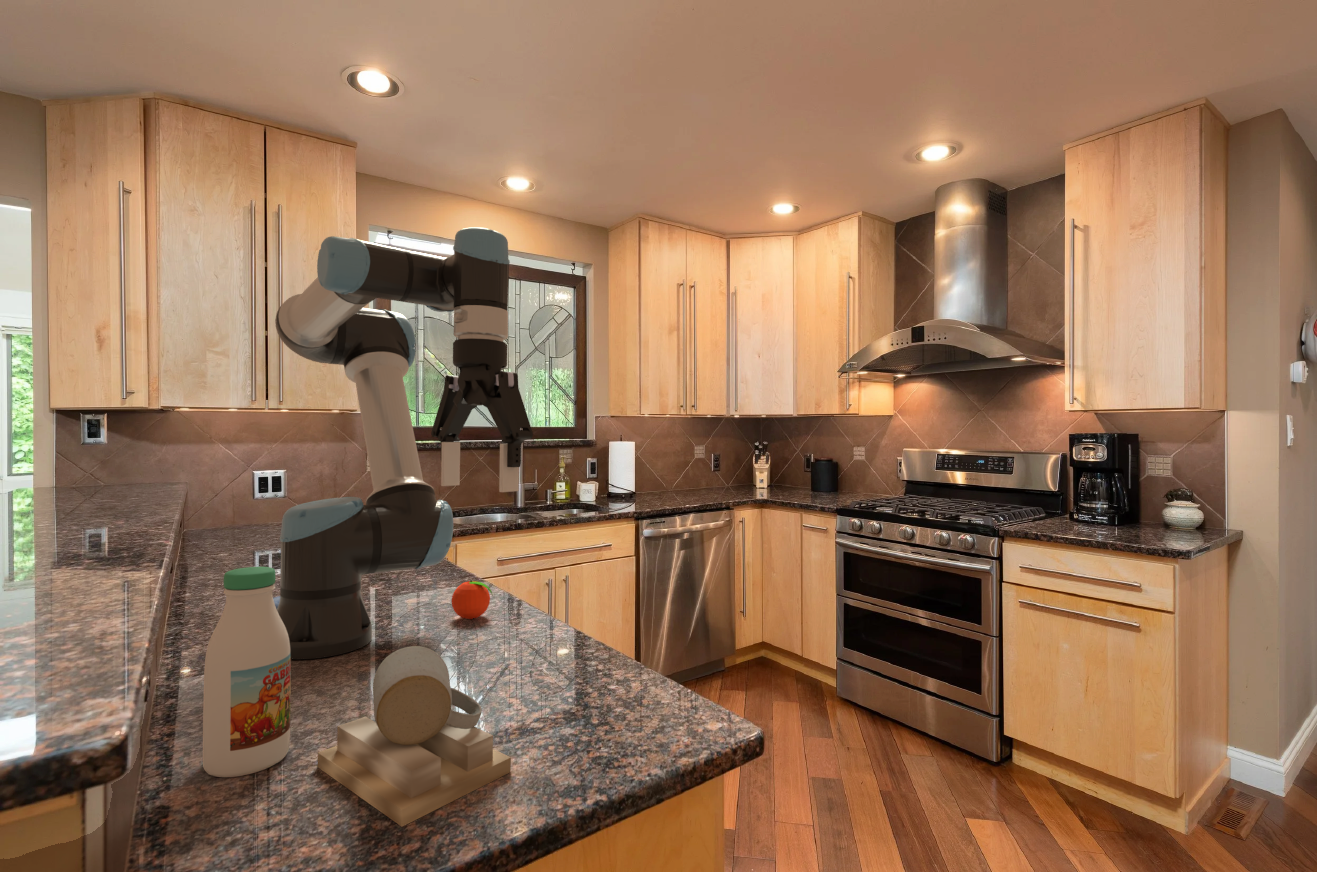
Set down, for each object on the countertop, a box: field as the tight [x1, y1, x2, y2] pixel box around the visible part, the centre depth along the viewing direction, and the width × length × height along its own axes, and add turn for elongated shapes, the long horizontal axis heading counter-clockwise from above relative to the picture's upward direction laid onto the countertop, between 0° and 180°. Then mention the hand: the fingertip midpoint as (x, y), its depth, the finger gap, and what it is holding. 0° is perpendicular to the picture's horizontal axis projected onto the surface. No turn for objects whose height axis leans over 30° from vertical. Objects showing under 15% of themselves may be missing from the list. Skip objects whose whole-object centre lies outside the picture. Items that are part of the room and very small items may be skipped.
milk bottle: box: [202, 566, 292, 778], centre depth 68 cm, size 8×8×20 cm
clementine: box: [451, 580, 494, 620], centre depth 121 cm, size 8×7×7 cm
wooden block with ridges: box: [317, 716, 512, 828], centre depth 66 cm, size 16×12×4 cm
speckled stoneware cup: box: [372, 645, 483, 745], centre depth 67 cm, size 11×8×8 cm
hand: (478, 488), depth 93 cm, fingers open, 13 cm apart
